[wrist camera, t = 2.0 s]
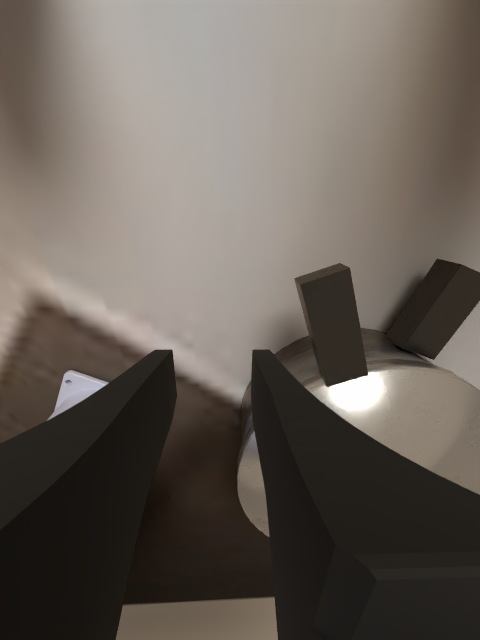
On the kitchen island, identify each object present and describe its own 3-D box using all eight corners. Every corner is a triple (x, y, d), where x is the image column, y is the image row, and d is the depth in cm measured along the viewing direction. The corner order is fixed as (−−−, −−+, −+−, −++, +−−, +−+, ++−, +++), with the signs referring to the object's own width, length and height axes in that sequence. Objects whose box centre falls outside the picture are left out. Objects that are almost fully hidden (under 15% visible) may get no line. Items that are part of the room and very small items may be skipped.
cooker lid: (485, 509, 22) (520, 549, 19) (275, 556, 24) (281, 598, 21) (505, 206, 12) (577, 206, 10) (154, 325, 14) (136, 351, 12)
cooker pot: (365, 492, 29) (390, 546, 24) (214, 455, 26) (210, 509, 21) (527, 301, 20) (615, 328, 15) (329, 214, 17) (365, 216, 13)
